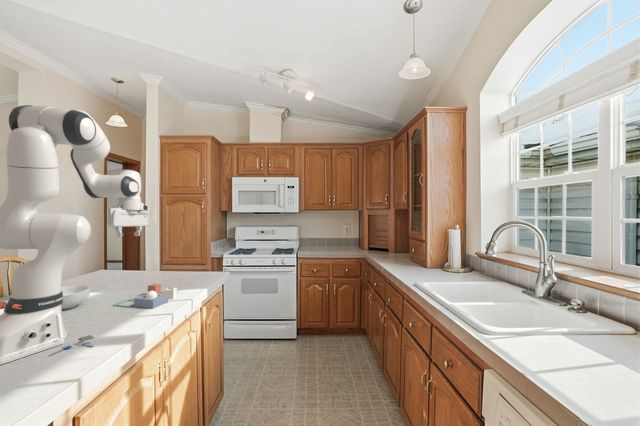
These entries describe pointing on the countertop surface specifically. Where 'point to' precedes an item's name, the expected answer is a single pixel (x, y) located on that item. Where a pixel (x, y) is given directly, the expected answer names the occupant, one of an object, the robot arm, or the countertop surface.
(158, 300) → the dome collar
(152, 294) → the dome
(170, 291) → the die
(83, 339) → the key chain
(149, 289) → the red cube
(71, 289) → the cereal bowl
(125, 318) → the countertop surface
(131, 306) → the track
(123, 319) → the countertop surface
